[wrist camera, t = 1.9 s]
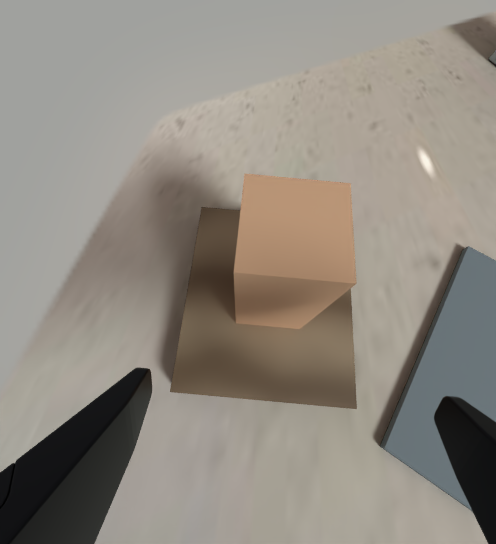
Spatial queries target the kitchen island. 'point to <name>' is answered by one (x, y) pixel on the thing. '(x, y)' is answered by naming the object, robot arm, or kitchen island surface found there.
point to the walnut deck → (256, 336)
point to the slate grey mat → (449, 371)
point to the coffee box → (493, 57)
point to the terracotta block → (292, 250)
